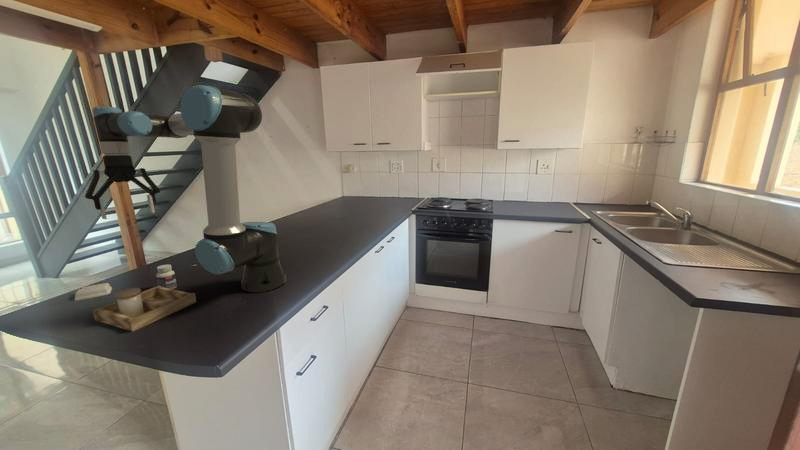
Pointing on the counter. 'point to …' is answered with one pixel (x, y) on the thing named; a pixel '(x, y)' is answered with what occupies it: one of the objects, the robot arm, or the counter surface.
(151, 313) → the caddy
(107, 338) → the counter surface
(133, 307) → the jar
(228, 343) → the counter surface
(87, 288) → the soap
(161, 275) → the pill bottle
